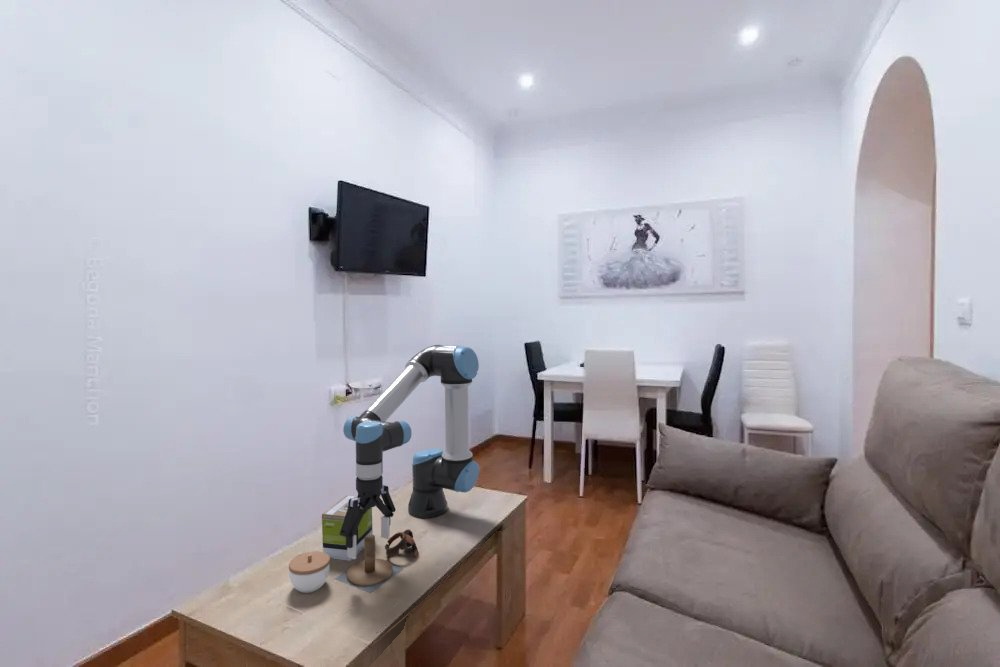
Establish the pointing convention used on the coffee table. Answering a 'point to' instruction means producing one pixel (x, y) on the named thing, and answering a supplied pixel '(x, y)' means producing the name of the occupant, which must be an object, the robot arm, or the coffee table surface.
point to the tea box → (332, 527)
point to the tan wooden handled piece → (369, 567)
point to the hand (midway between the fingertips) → (369, 547)
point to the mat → (368, 588)
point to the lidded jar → (309, 571)
